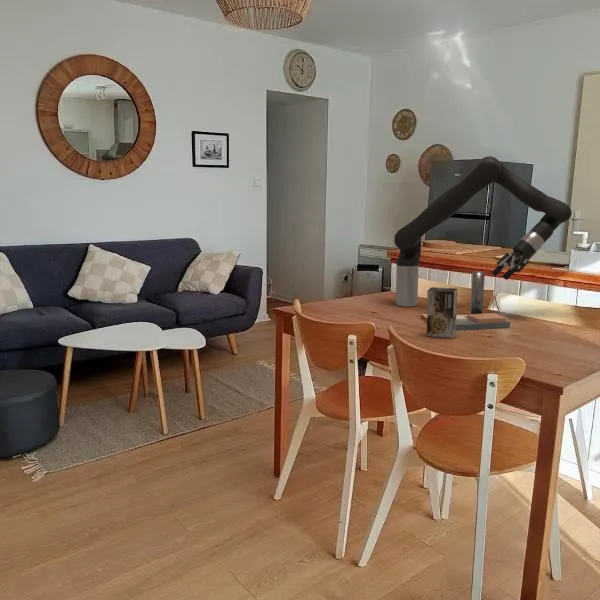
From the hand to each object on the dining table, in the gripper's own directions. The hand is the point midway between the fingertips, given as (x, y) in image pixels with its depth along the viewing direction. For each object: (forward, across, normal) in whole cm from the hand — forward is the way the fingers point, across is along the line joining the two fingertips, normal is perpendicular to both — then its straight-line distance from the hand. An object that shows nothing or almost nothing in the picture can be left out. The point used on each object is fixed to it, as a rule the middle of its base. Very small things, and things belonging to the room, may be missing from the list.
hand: (498, 276), depth 221 cm
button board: (+22, +11, +1) cm, 24 cm away
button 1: (+25, +11, -4) cm, 28 cm away
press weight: (+17, 0, +6) cm, 18 cm away
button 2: (+17, +11, +3) cm, 21 cm away
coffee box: (+34, +21, -11) cm, 41 cm away
